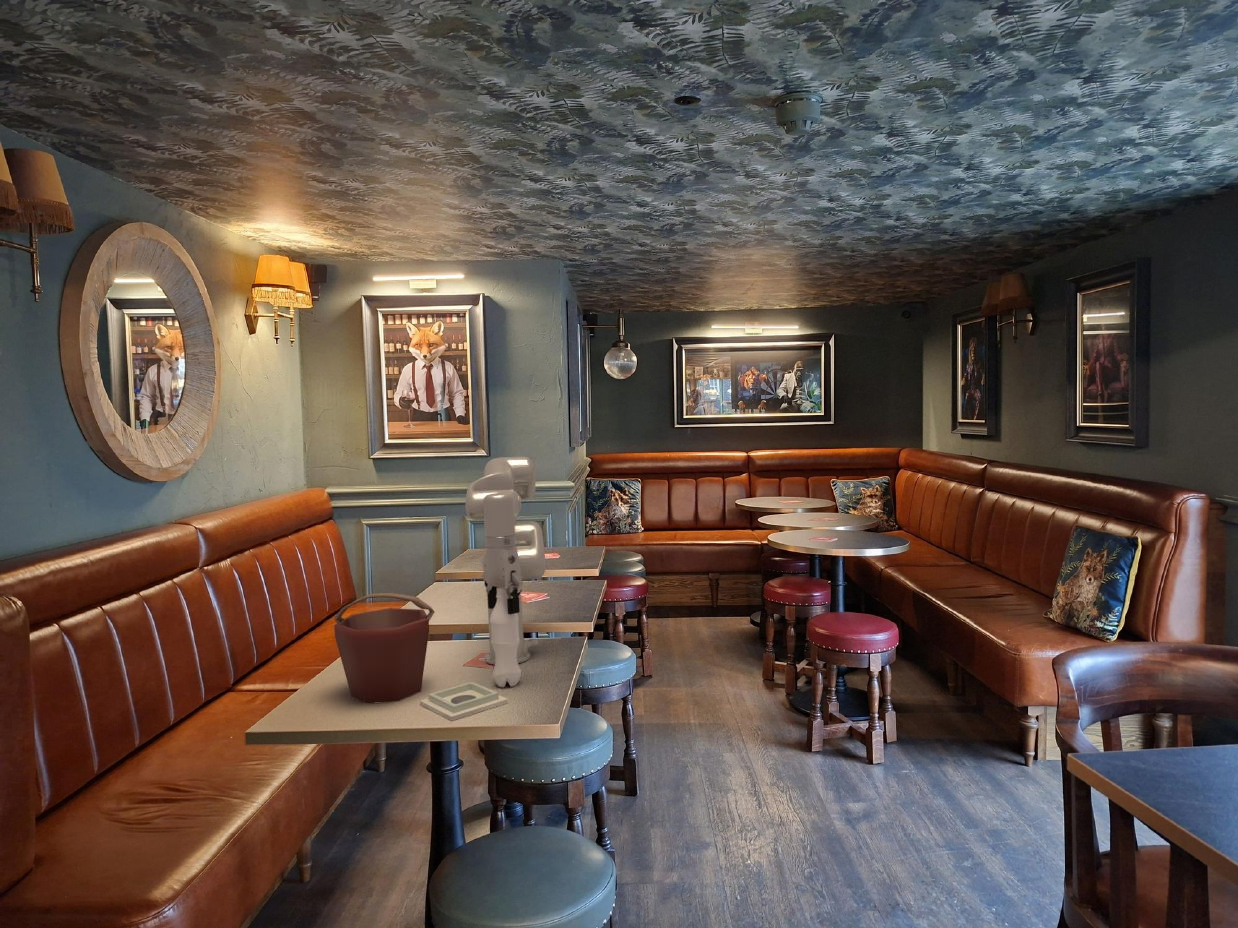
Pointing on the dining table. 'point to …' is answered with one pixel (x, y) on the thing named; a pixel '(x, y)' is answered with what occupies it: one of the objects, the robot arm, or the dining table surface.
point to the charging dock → (462, 701)
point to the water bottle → (504, 642)
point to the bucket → (384, 649)
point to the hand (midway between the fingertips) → (503, 610)
